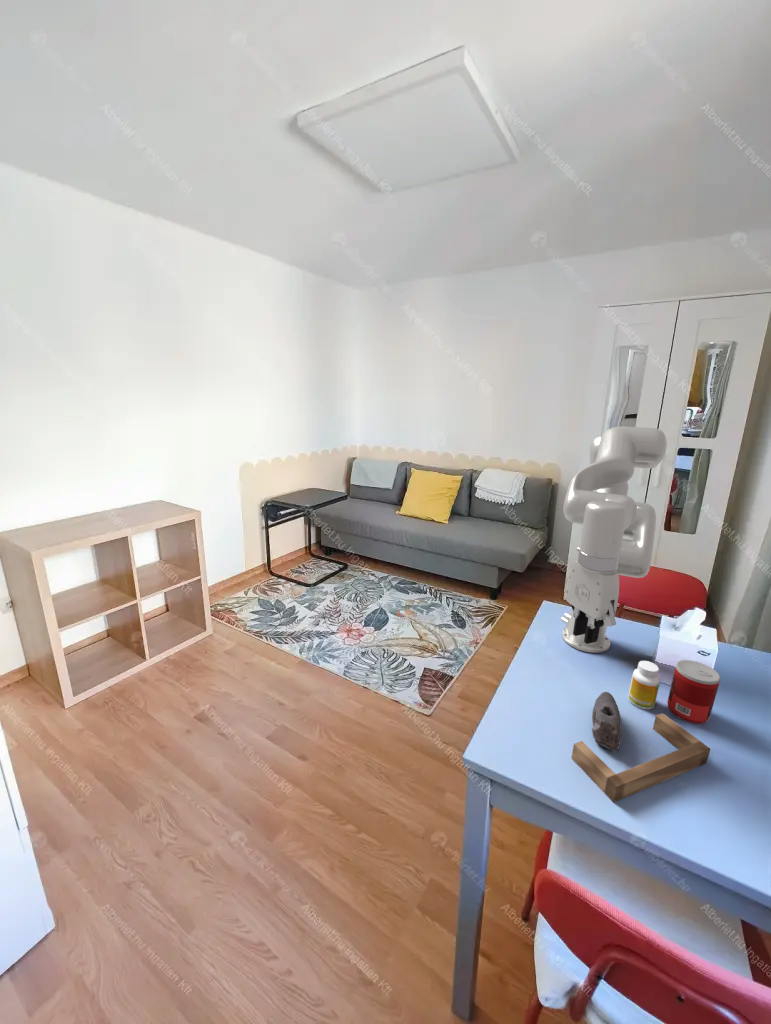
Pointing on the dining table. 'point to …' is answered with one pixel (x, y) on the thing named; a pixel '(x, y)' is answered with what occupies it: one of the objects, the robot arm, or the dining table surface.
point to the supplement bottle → (644, 685)
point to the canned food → (693, 691)
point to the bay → (647, 773)
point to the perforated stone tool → (606, 722)
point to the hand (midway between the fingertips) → (584, 637)
